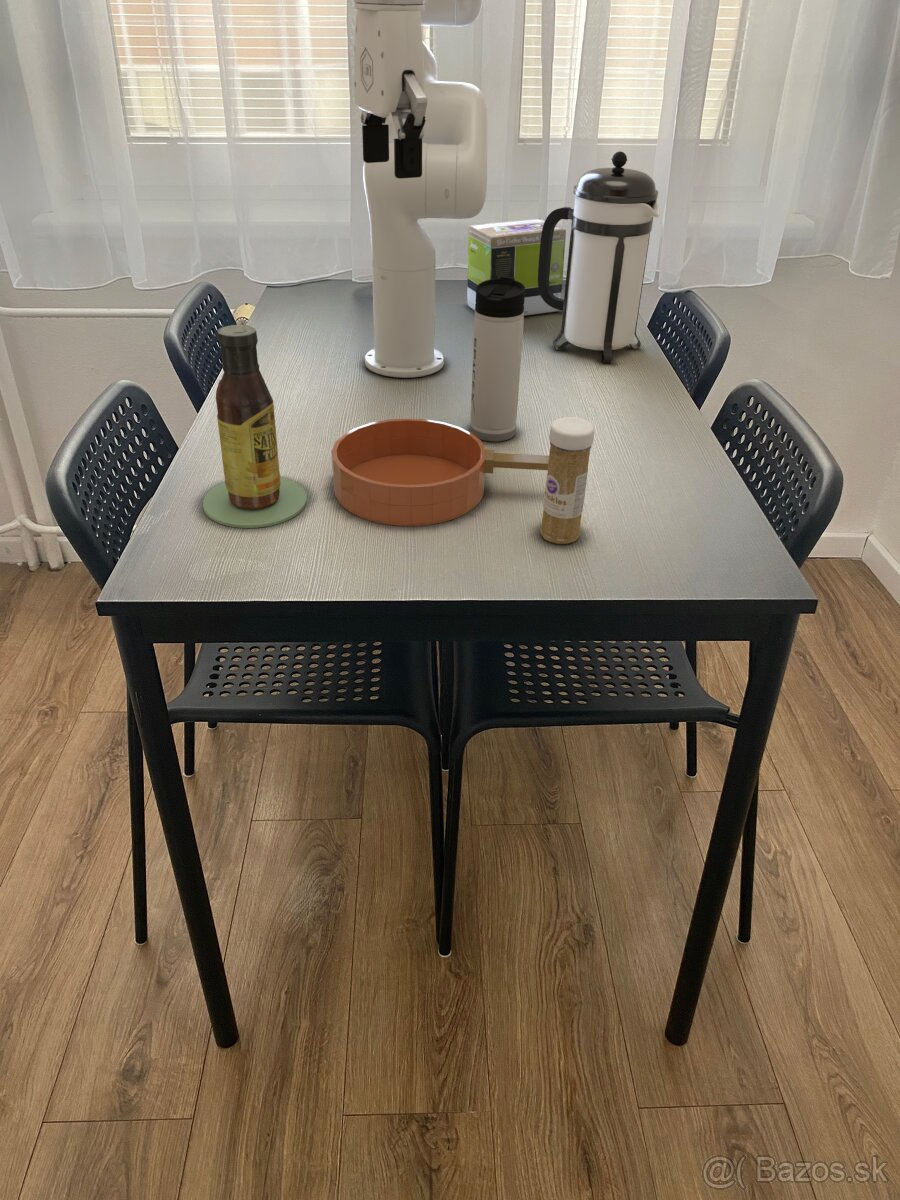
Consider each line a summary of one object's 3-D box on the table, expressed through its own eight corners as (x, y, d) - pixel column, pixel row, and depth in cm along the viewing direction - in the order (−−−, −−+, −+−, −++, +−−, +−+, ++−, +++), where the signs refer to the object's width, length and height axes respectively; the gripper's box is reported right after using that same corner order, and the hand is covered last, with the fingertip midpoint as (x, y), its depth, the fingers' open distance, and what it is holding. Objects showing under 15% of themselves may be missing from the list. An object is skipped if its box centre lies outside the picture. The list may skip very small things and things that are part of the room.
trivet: (192, 489, 105) (192, 486, 105) (289, 471, 110) (288, 468, 110) (217, 537, 97) (216, 534, 97) (321, 515, 101) (320, 512, 101)
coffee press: (630, 332, 156) (657, 143, 138) (649, 365, 143) (681, 161, 125) (532, 330, 155) (547, 141, 138) (543, 363, 142) (561, 158, 125)
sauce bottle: (270, 515, 100) (251, 344, 89) (219, 508, 101) (193, 338, 89) (290, 488, 105) (275, 323, 94) (241, 482, 106) (220, 318, 95)
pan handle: (483, 473, 104) (483, 459, 103) (483, 462, 106) (484, 449, 105) (579, 478, 103) (581, 464, 102) (578, 467, 106) (580, 453, 104)
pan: (313, 469, 110) (310, 433, 107) (444, 444, 117) (444, 409, 114) (367, 539, 97) (366, 499, 94) (510, 506, 104) (513, 468, 101)
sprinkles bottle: (531, 535, 99) (542, 424, 91) (554, 520, 101) (566, 411, 94) (565, 550, 96) (579, 437, 88) (588, 534, 99) (603, 423, 91)
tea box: (535, 297, 171) (541, 216, 162) (561, 313, 164) (569, 229, 155) (465, 305, 166) (467, 222, 157) (488, 322, 158) (492, 235, 150)
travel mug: (521, 426, 122) (532, 278, 111) (508, 445, 117) (518, 293, 106) (478, 419, 124) (485, 273, 112) (463, 437, 119) (469, 287, 107)
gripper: (328, -11, 98) (336, 158, 108) (387, -4, 86) (390, 186, 96) (390, -10, 101) (392, 155, 111) (456, -3, 89) (452, 181, 99)
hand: (391, 169), depth 104 cm, fingers open, 9 cm apart
